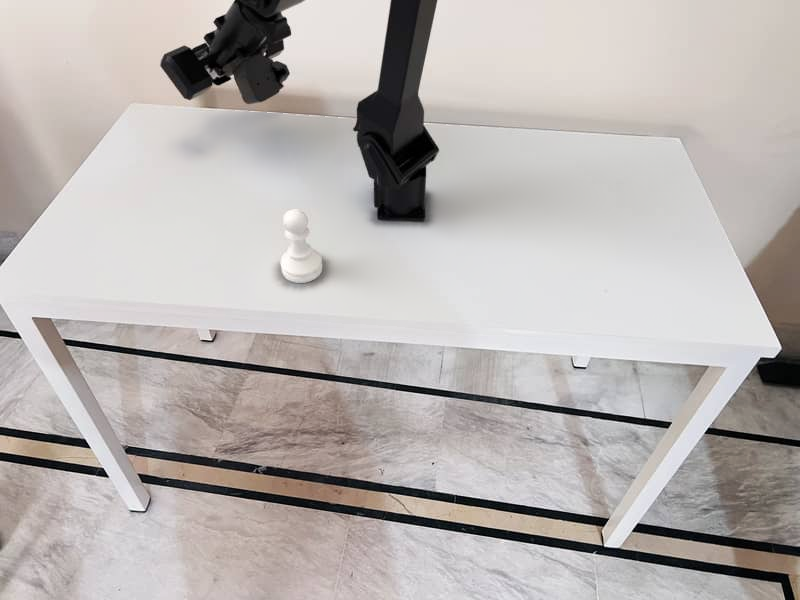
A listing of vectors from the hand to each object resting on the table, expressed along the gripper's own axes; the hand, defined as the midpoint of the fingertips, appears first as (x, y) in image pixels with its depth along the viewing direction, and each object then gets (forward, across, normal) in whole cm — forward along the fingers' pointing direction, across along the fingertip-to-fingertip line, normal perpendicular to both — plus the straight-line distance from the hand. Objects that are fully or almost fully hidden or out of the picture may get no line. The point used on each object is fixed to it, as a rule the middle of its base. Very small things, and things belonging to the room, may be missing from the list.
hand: (207, 80), depth 94 cm
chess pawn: (-20, -18, -30) cm, 40 cm away
